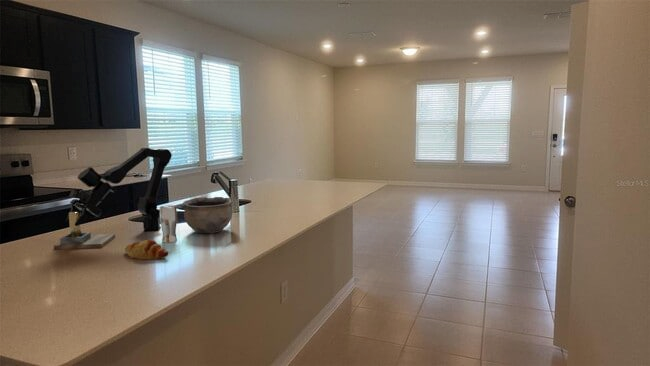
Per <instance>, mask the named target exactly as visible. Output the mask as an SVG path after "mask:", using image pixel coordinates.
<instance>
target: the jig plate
mask: <svg viewBox="0 0 650 366" xmlns="http://www.w3.org/2000/svg"><path fill="white" fill-rule="evenodd" d="M81 233H82V236H81V237H70V232H68V233H67V234H65V235H63V236H61V237H60V238H59V241H58V242H57V243H55V244H53V250H70V249H71V250H72V249H93V248H95V249H97V248H99V249H100V248H104V247H105V246H107V244H108V243H110V242H111V241H112V240H114V239H115V238H116V234H115V233H106V234H105V233H101V234H100V233H99V234H92V233H91V231H89V232H88V231H87V232H81Z"/></svg>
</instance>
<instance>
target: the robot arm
mask: <svg viewBox="0 0 650 366" xmlns="http://www.w3.org/2000/svg"><path fill="white" fill-rule="evenodd" d="M146 158H152V163H153V168H152V171H151V175H150V178H149V183H148V186H147V189H146V193H145V195H144V196H143V197H139V200H138V204H137V209H138V212H139V213H140V214H141V216H142V217H143V218H144V219H143V221H142V222H143V232H156V231H157V232H158V231H159V230H161V229H162V227H161V223H160V209H158V200H157V195H158V192H159V189H160V186H161V181H162V178H163V174H164V171H165V168H166V167H167V166H168V165H169V163H170V162H171V159H172V152H171V151H170V150H169V149H166V148H157V149H153V148H149V147H142V148H140V149H139V150H138V151H137V152H135V153H134V154H132V155H131V156H130V157H129V158H127V159H126V160H125V161H123V162H122V163H120V164H118V165H115V166H114V167H111V168H108V169H107V170H106V171H104V173H99V172H97V171H96V170H95V169H94V168H93V167H91V166H88V167H87V168H86V169H83V171H81V172H80V173H79V174H78V176H77V179H78V181H80V182H82V183H83V185H85V186H87V188H92V189H91V190H90V191H86V190H85V189H80V190H75V189H71V191H70V193H69V196H68V197H69V198H73V199H71V201H70V202H69V206H70V211H69V213H70V212H80V217H79V218H78V220H77V221H76V223H75V226H78V225H80V224H81V225H82V224H85V223H86V222H88V221H90V220H92V219H95V218H99V217H100V216H101V214H103V213H102V212H103V211H102V209H101V208H99V207H98V205H99V204H100V203H103V202H104V199H105V197H106V196H107V195H108V194H109V193H110V192H111V193H116V192H117V189H116V186H115V185H117V184H120V183H121V182H122V181H124V179H125V177H126V176H127V174H128V173H129V172H130V171H132V170H133V169H134V168H135V167H136V166H138V165H139V164H140V163H141V162H143V161H145V160H146ZM104 181H105V182H104ZM111 184H112V185H111ZM113 184H115V185H113ZM65 223H68V224H70V223H69V215H67V218H66V220H65Z"/></svg>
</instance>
